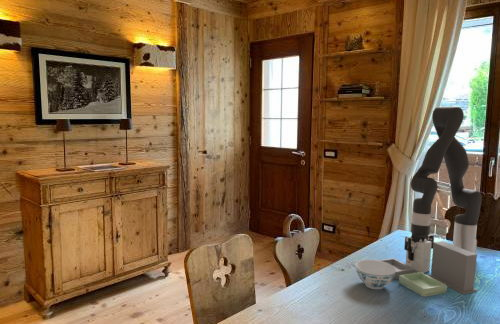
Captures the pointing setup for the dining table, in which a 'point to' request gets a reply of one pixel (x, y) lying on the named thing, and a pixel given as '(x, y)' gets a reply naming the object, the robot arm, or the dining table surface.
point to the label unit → (454, 267)
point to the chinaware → (375, 273)
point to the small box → (420, 256)
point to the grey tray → (399, 267)
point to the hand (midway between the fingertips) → (418, 259)
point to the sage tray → (422, 284)
